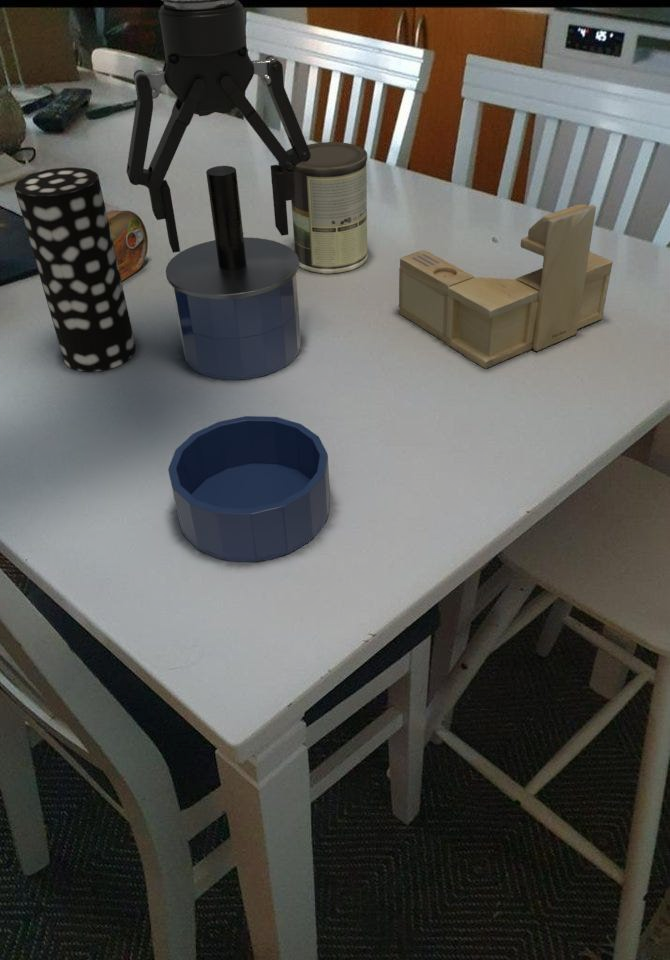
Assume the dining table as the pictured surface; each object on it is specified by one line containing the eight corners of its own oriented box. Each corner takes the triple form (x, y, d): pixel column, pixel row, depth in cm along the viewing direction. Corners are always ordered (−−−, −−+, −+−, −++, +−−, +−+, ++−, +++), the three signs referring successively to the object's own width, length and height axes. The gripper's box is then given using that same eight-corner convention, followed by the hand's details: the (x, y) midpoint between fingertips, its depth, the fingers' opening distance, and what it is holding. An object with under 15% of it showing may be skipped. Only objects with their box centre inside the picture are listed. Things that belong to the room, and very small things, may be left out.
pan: (192, 578, 66) (182, 529, 63) (169, 479, 76) (159, 433, 73) (348, 540, 69) (347, 491, 65) (306, 450, 79) (302, 404, 75)
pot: (195, 389, 88) (181, 306, 82) (176, 332, 98) (162, 254, 92) (313, 366, 91) (308, 284, 84) (283, 313, 101) (277, 236, 94)
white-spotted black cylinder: (114, 328, 99) (75, 161, 87) (149, 353, 94) (112, 180, 81) (51, 352, 95) (1, 181, 83) (83, 380, 90) (35, 202, 77)
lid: (178, 314, 81) (159, 205, 74) (158, 258, 92) (140, 158, 85) (315, 290, 84) (309, 184, 77) (281, 238, 95) (273, 140, 88)
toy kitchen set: (509, 273, 107) (522, 156, 97) (607, 322, 96) (632, 195, 86) (397, 314, 100) (398, 191, 90) (488, 372, 89) (502, 239, 79)
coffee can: (280, 265, 112) (271, 160, 103) (319, 237, 118) (314, 137, 109) (344, 280, 107) (341, 172, 98) (381, 251, 114) (381, 147, 105)
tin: (83, 307, 104) (66, 244, 98) (64, 303, 105) (47, 240, 100) (154, 261, 114) (143, 202, 109) (136, 257, 115) (124, 198, 110)
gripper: (67, 21, 67) (121, 270, 81) (338, -5, 71) (344, 235, 85) (63, 6, 72) (114, 242, 86) (314, -17, 77) (324, 210, 91)
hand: (229, 238), depth 86 cm, fingers open, 11 cm apart
